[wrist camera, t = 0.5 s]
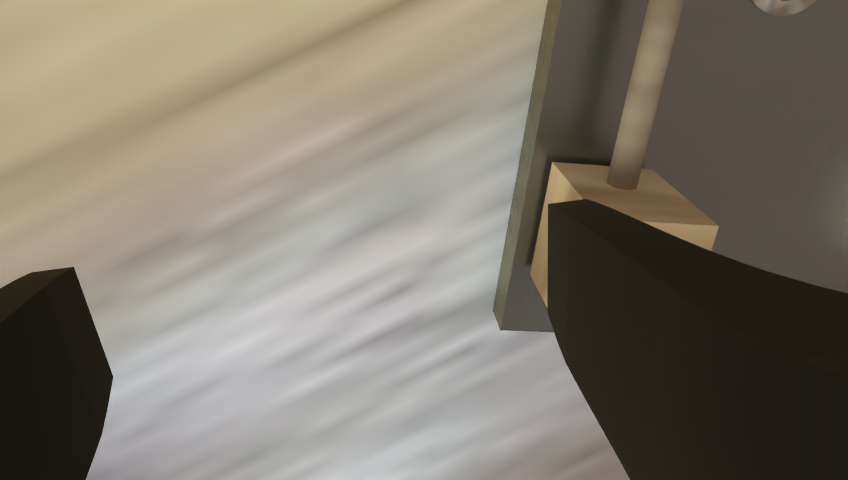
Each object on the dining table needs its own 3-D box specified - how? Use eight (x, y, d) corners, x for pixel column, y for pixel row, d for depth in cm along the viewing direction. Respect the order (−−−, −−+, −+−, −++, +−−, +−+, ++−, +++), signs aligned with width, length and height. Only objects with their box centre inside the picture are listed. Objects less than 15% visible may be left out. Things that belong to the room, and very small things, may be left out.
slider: (623, 279, 22) (679, 352, 18) (529, 274, 22) (568, 348, 18) (711, -59, 18) (804, -49, 14) (598, -73, 18) (665, -66, 14)
